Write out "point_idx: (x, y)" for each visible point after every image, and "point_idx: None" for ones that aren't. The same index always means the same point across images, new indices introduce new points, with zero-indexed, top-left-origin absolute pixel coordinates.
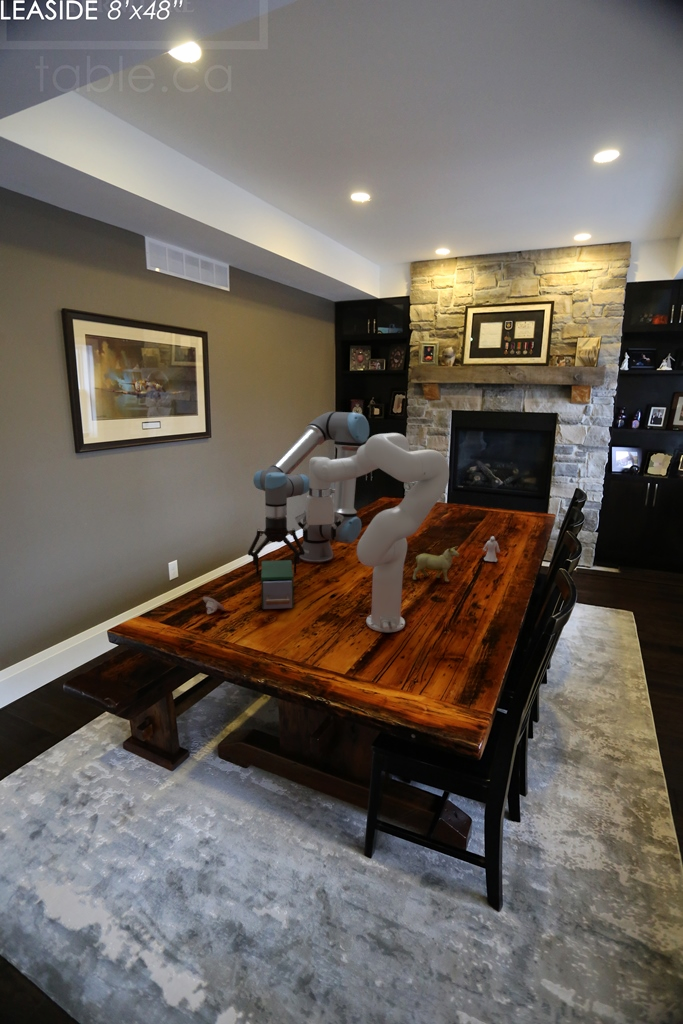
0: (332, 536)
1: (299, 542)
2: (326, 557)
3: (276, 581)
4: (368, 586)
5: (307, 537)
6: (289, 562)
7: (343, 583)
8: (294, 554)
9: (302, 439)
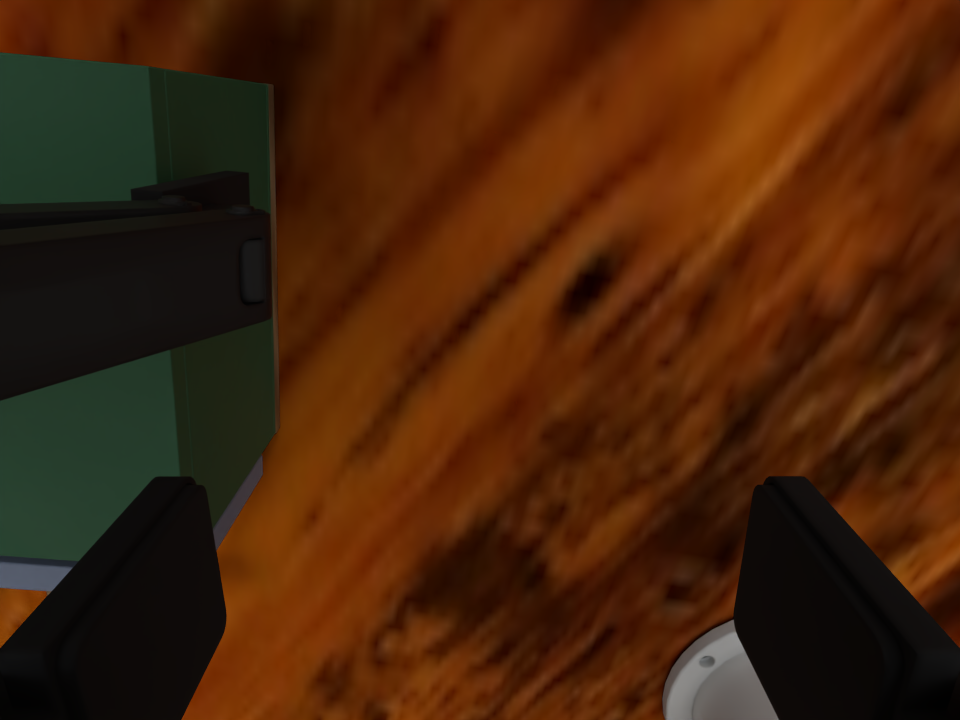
0: (760, 680)
1: (105, 350)
2: None
3: (45, 576)
4: (939, 148)
5: (193, 683)
6: (127, 157)
7: (756, 32)
8: (138, 197)
9: None
